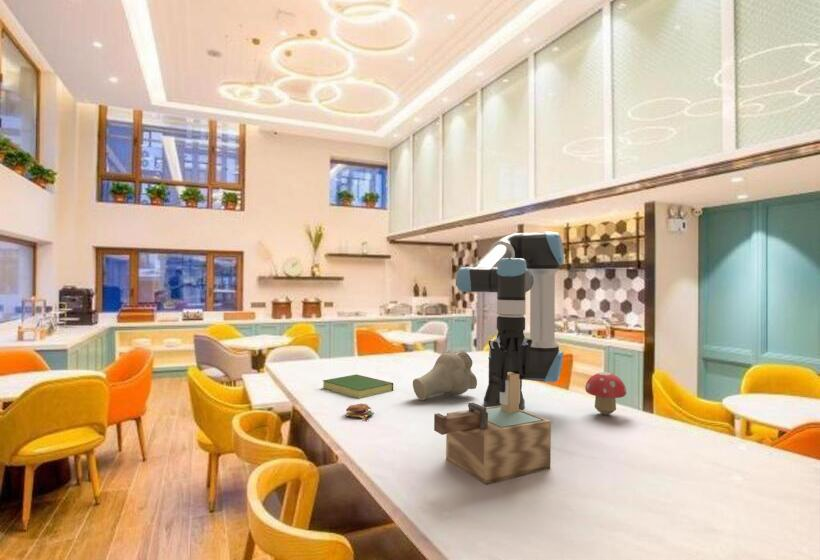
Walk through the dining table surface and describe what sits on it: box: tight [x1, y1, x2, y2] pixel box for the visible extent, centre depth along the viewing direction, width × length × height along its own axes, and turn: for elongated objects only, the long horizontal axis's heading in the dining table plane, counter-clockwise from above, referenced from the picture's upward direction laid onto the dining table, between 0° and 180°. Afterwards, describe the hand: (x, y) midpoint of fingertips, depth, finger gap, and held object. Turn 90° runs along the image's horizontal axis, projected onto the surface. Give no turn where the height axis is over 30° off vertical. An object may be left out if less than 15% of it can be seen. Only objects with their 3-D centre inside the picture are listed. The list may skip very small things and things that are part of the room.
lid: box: [486, 372, 542, 428], centre depth 120 cm, size 13×14×12 cm
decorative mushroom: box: [584, 371, 627, 415], centre depth 164 cm, size 13×13×15 cm
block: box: [433, 411, 488, 436], centre depth 109 cm, size 13×3×4 cm, turn 118°
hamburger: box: [345, 403, 374, 422], centre depth 158 cm, size 14×14×6 cm
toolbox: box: [445, 402, 552, 485], centre depth 118 cm, size 24×17×17 cm
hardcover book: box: [322, 373, 394, 399], centre depth 198 cm, size 25×19×4 cm
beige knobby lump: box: [412, 349, 478, 401], centre depth 186 cm, size 22×22×28 cm
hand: (509, 403), depth 124 cm, fingers closed on lid, 3 cm apart
